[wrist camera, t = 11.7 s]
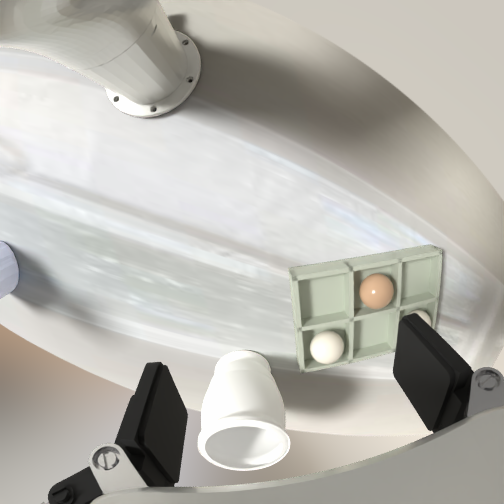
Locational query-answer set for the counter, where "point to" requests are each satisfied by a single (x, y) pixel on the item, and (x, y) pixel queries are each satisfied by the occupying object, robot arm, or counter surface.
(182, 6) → the counter surface
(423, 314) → the cream egg
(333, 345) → the cream egg
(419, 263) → the egg tray
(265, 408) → the jar
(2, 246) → the soap bottle
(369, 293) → the brown egg
